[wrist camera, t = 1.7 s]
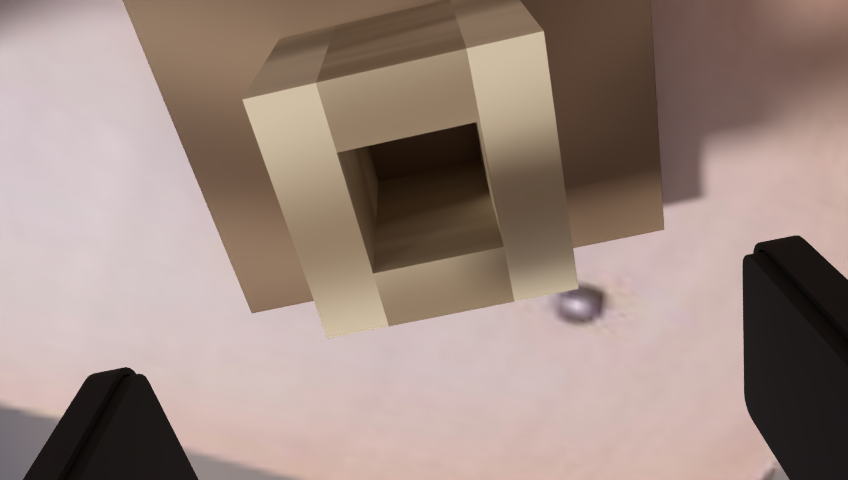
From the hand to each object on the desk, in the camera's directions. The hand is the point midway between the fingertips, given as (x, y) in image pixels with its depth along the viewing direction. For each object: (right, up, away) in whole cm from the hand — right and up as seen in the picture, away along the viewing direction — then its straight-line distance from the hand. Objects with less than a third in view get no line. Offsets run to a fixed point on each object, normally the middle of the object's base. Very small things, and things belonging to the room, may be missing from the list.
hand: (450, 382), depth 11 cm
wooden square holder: (-1, +6, +8) cm, 10 cm away
